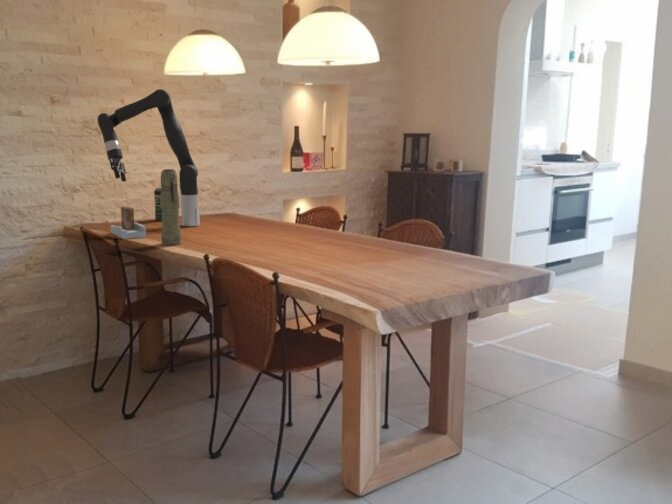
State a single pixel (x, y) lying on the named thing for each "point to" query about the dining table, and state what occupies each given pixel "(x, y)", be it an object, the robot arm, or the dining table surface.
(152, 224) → the dining table surface
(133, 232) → the tray
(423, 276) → the dining table surface
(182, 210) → the robot arm
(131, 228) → the brown wooden block
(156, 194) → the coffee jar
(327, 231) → the dining table surface
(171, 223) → the thermos
